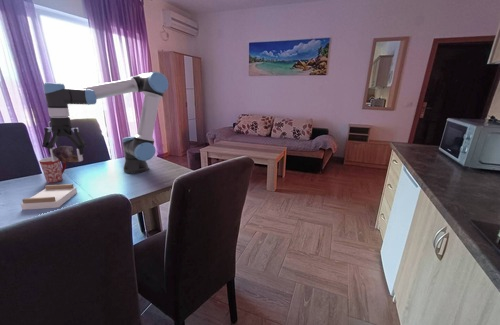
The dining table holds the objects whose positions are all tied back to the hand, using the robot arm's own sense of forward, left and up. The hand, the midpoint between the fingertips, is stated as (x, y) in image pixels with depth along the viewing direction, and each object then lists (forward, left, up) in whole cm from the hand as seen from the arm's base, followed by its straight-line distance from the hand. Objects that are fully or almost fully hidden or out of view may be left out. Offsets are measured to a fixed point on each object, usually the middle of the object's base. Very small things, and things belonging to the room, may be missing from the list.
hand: (68, 160), depth 113 cm
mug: (+18, -19, -17) cm, 32 cm away
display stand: (+5, +10, -17) cm, 20 cm away
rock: (+1, 0, -1) cm, 1 cm away
